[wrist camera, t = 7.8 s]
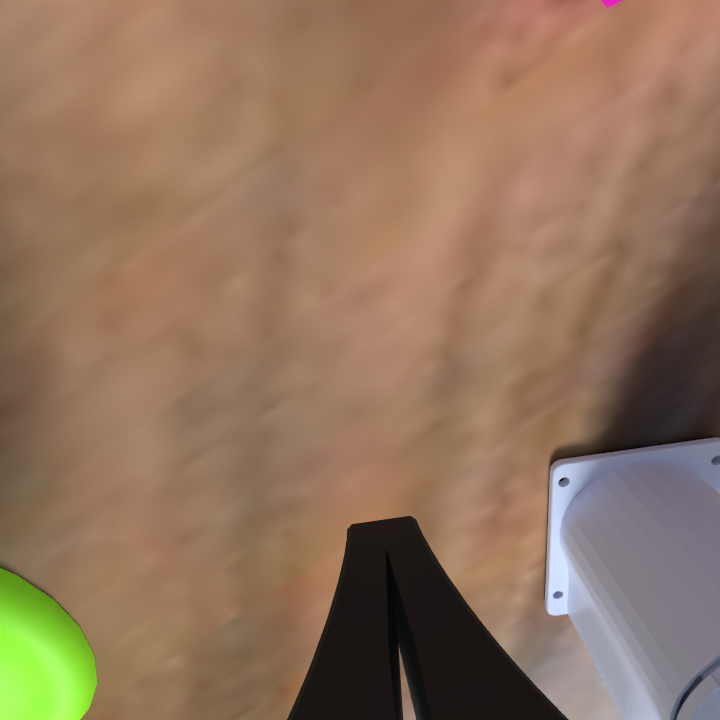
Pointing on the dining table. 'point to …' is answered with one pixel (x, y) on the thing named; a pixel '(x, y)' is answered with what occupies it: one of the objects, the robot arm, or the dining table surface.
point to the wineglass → (41, 656)
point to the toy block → (610, 2)
